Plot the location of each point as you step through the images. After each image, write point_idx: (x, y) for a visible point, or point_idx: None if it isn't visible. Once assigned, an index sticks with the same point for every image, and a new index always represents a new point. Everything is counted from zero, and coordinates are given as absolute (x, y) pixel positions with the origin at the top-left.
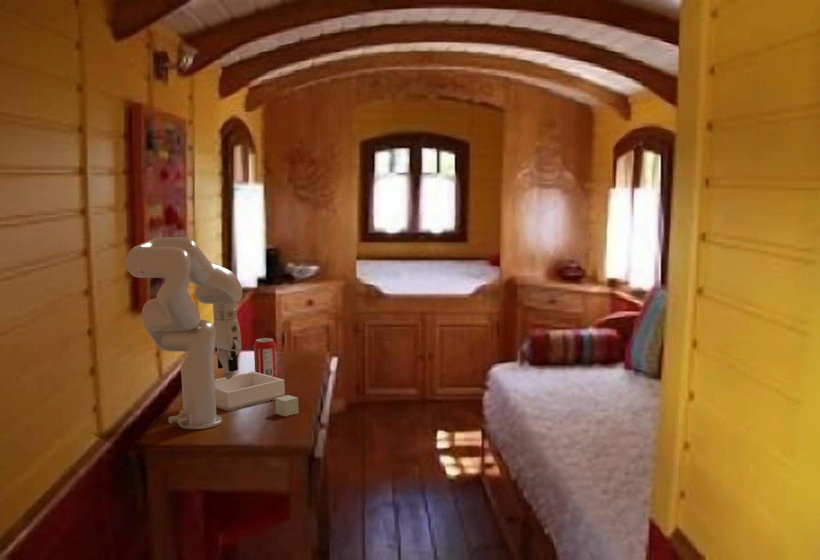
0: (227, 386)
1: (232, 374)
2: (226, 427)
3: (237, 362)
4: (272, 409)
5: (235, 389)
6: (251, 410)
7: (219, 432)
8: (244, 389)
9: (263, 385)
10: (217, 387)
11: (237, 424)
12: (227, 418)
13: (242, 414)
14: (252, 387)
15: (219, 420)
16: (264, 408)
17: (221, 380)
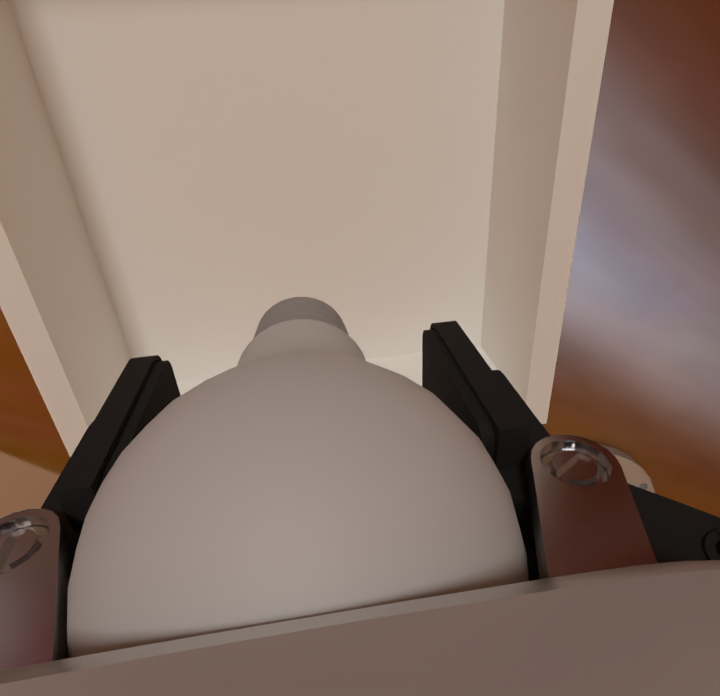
0: (38, 171)
1: (333, 316)
2: (694, 459)
3: (495, 378)
4: (711, 111)
5: (24, 61)
6: (597, 239)
7: (713, 499)
8: (567, 276)
9: (605, 19)
10: (75, 289)
11: (711, 411)
12: (594, 407)
13: (611, 321)
14: (581, 183)
15: (648, 479)
16: (641, 143)
17: (28, 263)
